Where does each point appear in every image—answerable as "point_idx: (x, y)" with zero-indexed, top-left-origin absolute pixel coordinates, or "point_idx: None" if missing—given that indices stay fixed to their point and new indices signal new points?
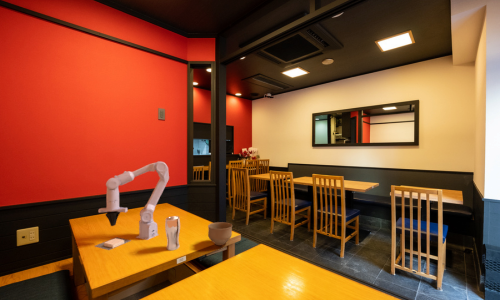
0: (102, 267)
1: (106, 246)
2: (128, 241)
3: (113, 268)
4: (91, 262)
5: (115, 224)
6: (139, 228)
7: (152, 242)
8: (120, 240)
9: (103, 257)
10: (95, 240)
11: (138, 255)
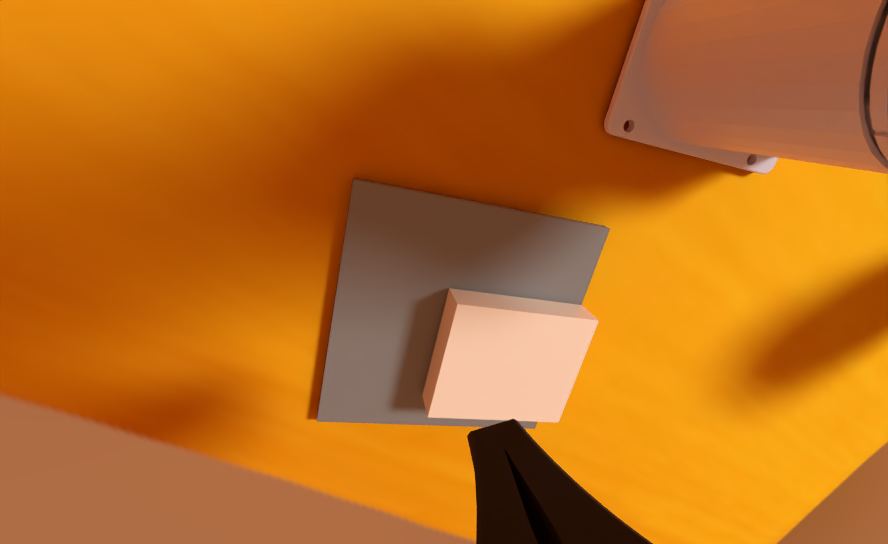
0: None
1: None
2: (593, 255)
3: (702, 525)
4: None
5: (521, 428)
6: (756, 135)
7: (816, 198)
8: (563, 335)
9: None
10: (119, 298)
11: (776, 400)
